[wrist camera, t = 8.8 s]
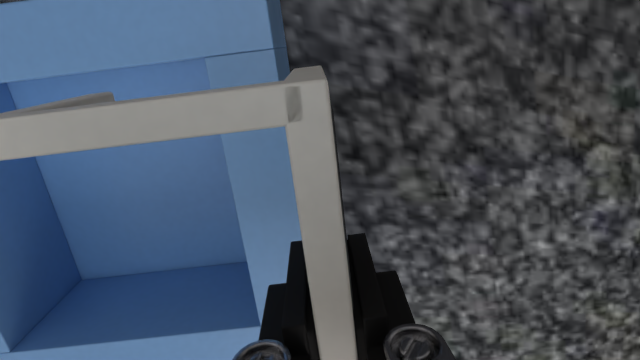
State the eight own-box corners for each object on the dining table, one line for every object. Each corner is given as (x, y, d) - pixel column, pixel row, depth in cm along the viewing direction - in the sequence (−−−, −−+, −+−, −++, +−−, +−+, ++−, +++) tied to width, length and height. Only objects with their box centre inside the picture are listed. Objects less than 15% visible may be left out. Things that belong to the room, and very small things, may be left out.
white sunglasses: (323, 64, 10) (331, 78, 6) (362, 420, 15) (382, 568, 10) (88, 94, 10) (-62, 125, 6) (196, 437, 15) (150, 590, 11)
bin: (-56, 36, 23) (-224, 32, 16) (278, -7, 22) (262, -32, 15) (60, 313, 29) (-21, 398, 22) (319, 285, 29) (321, 363, 22)
